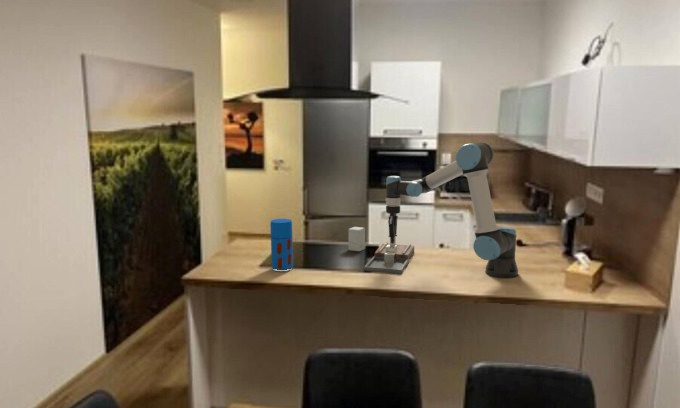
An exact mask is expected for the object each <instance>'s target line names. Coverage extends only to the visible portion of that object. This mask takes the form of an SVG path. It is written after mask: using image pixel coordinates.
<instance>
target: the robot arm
mask: <svg viewBox="0 0 680 408" xmlns="http://www.w3.org/2000/svg"><path fill="white" fill-rule="evenodd" d="M494 156H495V154H494V149H493V148H492V147H491V145H490V144H489V143H487V142H470V143H465V144H463V145H462V146H460V147H459V148H458V150H457V152H456V153H455V160H454V161H452V162H450V163H449V164H447V165H445V166H443V167H441V168H439V169H437V170H436V171H434V172H431V173H430V174H428V175H426V176H424V177H422V178H420V179H416V180H411V181H407V180H402V178H401V176H398V175H390V176H389V175H388V176H387V177H386V183H385V192H386V193H385V194H386V196H385V199H384V200H385V204H386V206H385V212H386V213H387V214H389V216H388V221H387V222H388V238H389V244H390V245H397V244H396V242H397V241H396V240H397V239H396V238H397V237H398V234H397V230H398V229H397V228H398V218H399V217H398V215H397V214H400V213H401V206H400V205H401V196H406V197H412V198H414V197H416V198H418V197H420V195H422V194H426V193H429V192H431V191H432V190H434V189H436V188H437V187H439V186H441V185H443V184H445V183H448V182H449V181H451V180H453V179H456V178H458V177H460V176H462V175H463V176H464V177H466V180H467V183H468V188H469V193H470V194H469V195H470V198H471V203H472V208H473V213H474V214H473V215H474V218H475V223H476V227H477V228H476V230H475V231H474V236H475V239H474V242H473V245H472V246H473V247H472V248H473V251H474V253H475V255H476V256H477V257H478V258H480V259H481V260H484V261H487V263H486V266H485V274H487V275H488V276H491V277H494V278H500V279H501V278H504V279H508V278H509V279H510V278H515V277H517V276H518V275H519V268H518V265H517V261H516V245H517V230H516V228H514V227H508V226H501V225H500V226H499V225H497V222H496V217H495V212H494V207H493V203H492V202H493V201H492V197H491V192H490V186H489V183H488V182H489V181H488V176H487V174H488V171H489V164H491V163H492V161H493V160H494Z"/></svg>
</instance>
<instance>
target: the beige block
mask: <svg viewBox="0 0 680 408" xmlns="http://www.w3.org/2000/svg"><path fill="white" fill-rule="evenodd" d="M384 263H387V264H394V263H395V253H393V252H385V254H384Z"/></svg>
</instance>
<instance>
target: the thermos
mask: <svg viewBox="0 0 680 408" xmlns="http://www.w3.org/2000/svg"><path fill="white" fill-rule="evenodd" d="M269 226H270V246H271V247H270V251H271V252H270V253H271V269H272V268H273V269H277V270H287V269H291V268H293V269H294V251H293V250H294V248H293V247H294V246H293V223H292V219H290V218H274V219H272V220H270V225H269Z"/></svg>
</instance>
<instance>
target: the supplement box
mask: <svg viewBox="0 0 680 408" xmlns="http://www.w3.org/2000/svg"><path fill="white" fill-rule="evenodd" d="M365 249H366V228H365V227H361V226H360V227H359V226H353V227H350V228H348V251H355V252H361V251H363V250H365Z"/></svg>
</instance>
